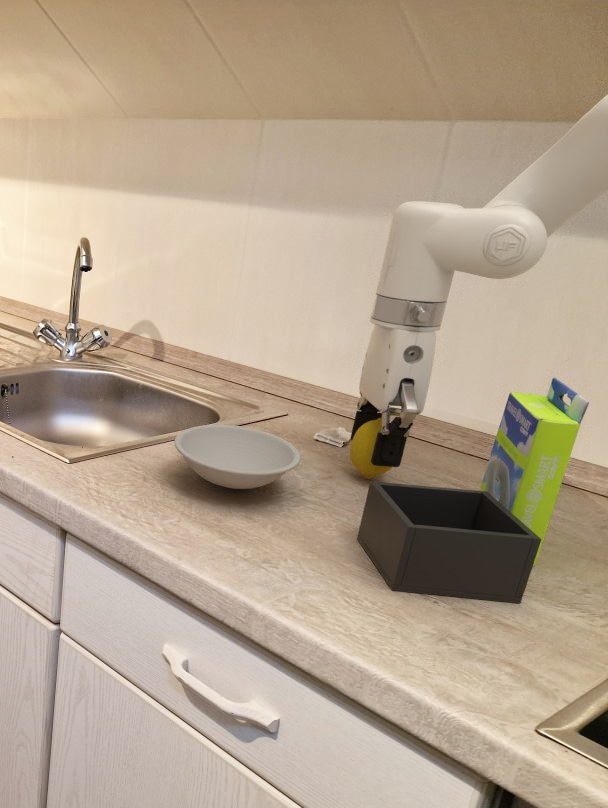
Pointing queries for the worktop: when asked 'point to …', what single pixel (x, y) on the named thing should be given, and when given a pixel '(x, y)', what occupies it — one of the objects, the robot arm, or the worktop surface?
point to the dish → (236, 455)
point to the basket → (447, 542)
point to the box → (534, 453)
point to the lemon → (366, 449)
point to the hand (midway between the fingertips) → (373, 452)
